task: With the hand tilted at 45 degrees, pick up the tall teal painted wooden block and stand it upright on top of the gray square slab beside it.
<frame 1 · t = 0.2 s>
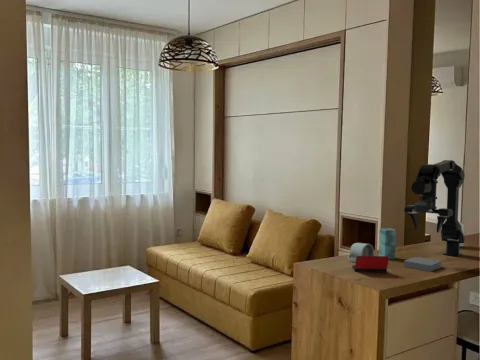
hand: (426, 231, 194), 14 cm above the table, tool pointing down, fingers open, 9 cm apart
photo printer: (455, 247, 233), on the table
teal block: (386, 258, 207), on the table
ceramic mug: (359, 261, 202), on the table
handheld game console: (369, 272, 184), on the table
gray square slab: (422, 266, 191), on the table
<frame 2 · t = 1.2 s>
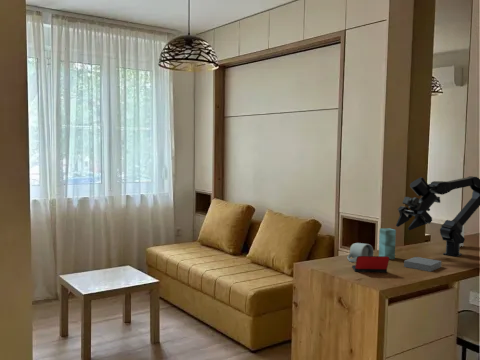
hand: (402, 227, 207), 13 cm above the table, tool tilted 45°, fingers open, 9 cm apart
nothing on the table moved.
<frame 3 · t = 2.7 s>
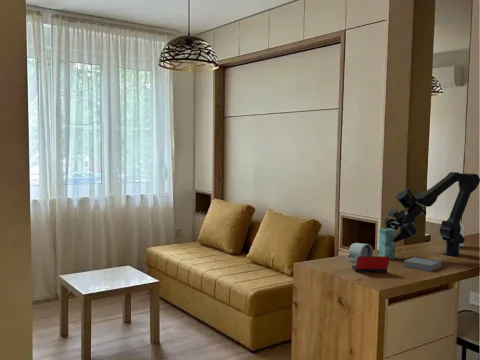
hand: (387, 239, 206), 8 cm above the table, tool tilted 45°, fingers open, 9 cm apart
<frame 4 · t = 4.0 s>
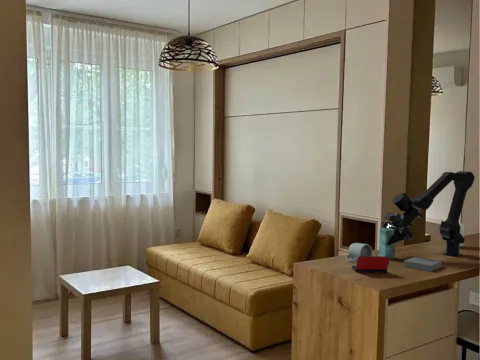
hand: (384, 243, 206), 7 cm above the table, tool tilted 45°, fingers closed on teal block, 5 cm apart
teal block: (386, 257, 207), on the table, touching gripper
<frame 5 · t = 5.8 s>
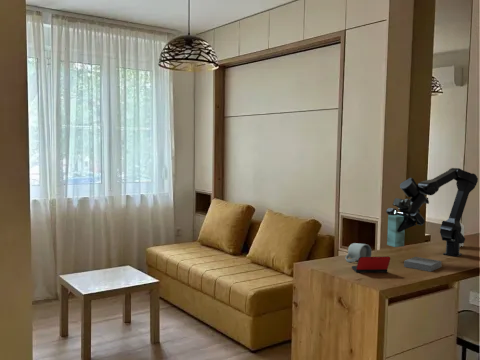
hand: (393, 230, 200), 13 cm above the table, tool tilted 45°, fingers closed on teal block, 5 cm apart
teal block: (395, 245, 201), point 7 cm above the table, touching gripper
when the fingers open (10 cm above the table, at t = 7.8 s): teal block drops 1 cm, resting on gray square slab.
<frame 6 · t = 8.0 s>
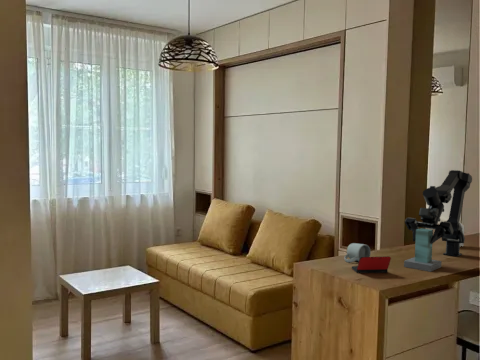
hand: (422, 242, 190), 11 cm above the table, tool tilted 45°, fingers open, 7 cm apart
teal block: (423, 260, 191), point 3 cm above the table, touching gray square slab
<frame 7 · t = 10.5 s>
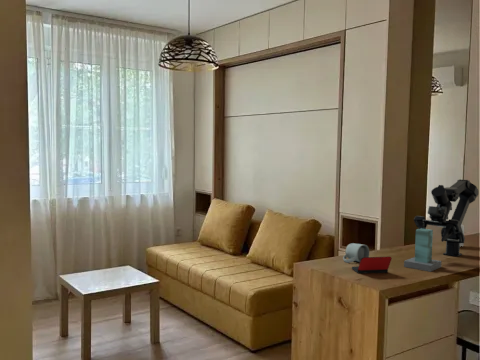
hand: (430, 239, 196), 11 cm above the table, tool tilted 45°, fingers open, 9 cm apart
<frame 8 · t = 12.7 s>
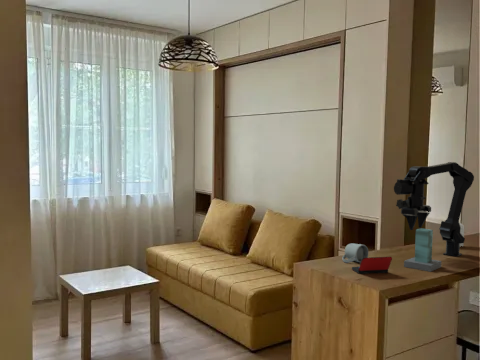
hand: (415, 228, 208), 13 cm above the table, tool pointing down, fingers open, 9 cm apart
at the end: teal block inside the target area on the gray square slab (0.1 cm from its centre), point 2.5 cm above the gray square slab's base; teal block tilted 0°; the gripper is holding nothing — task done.
